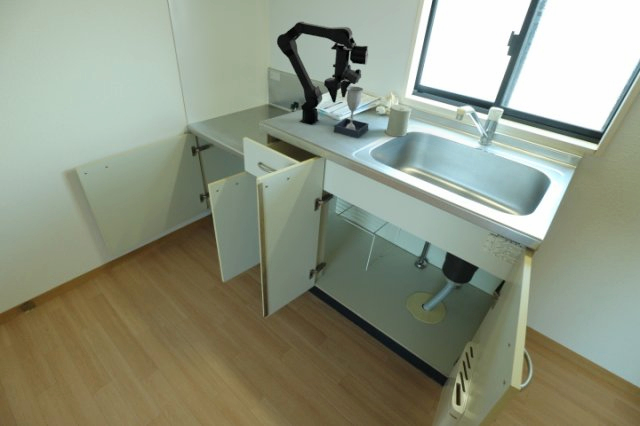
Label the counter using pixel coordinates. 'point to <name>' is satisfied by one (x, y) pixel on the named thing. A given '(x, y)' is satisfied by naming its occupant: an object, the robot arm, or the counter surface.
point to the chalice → (353, 102)
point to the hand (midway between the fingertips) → (338, 99)
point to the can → (398, 120)
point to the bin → (359, 127)
